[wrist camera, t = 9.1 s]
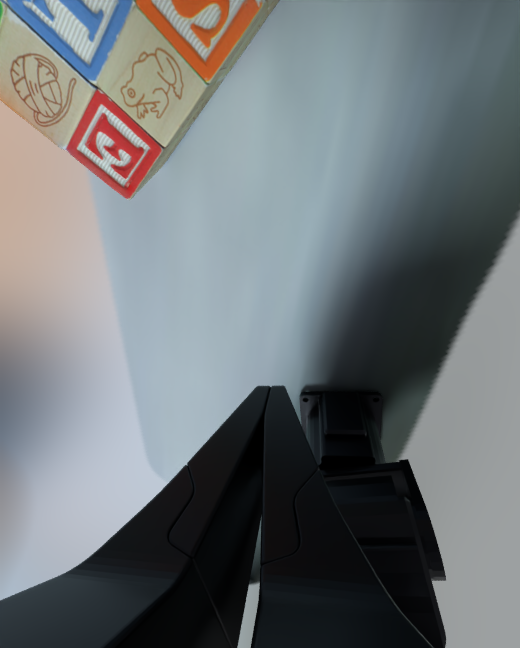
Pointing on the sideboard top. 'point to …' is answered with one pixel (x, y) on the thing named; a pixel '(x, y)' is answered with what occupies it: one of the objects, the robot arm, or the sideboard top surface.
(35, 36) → the stack of blocks
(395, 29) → the sideboard top surface
